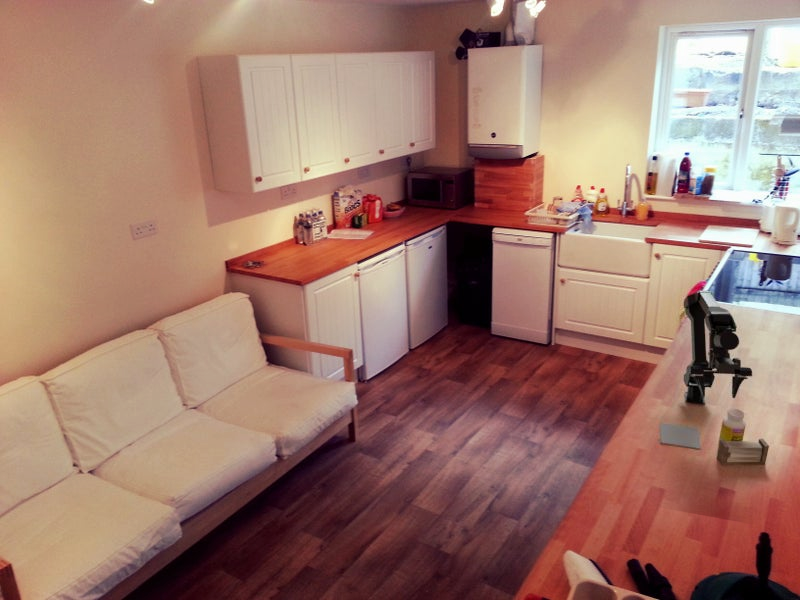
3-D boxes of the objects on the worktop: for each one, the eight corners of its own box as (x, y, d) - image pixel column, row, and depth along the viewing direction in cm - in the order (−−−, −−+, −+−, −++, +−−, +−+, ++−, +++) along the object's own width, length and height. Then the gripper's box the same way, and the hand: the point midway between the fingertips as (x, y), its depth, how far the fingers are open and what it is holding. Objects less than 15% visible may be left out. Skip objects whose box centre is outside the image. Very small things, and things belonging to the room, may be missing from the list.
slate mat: (660, 423, 226) (660, 422, 225) (698, 429, 222) (698, 428, 222) (660, 443, 215) (660, 442, 215) (700, 449, 211) (700, 448, 211)
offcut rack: (716, 458, 207) (719, 439, 204) (759, 457, 206) (763, 438, 204) (721, 465, 203) (725, 446, 201) (765, 464, 203) (769, 446, 200)
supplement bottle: (728, 454, 208) (734, 420, 204) (713, 442, 214) (719, 409, 209) (745, 450, 210) (752, 416, 205) (730, 438, 216) (737, 405, 211)
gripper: (695, 349, 207) (695, 398, 206) (758, 350, 204) (759, 401, 204) (686, 348, 218) (685, 395, 217) (745, 350, 215) (745, 397, 215)
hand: (718, 397), depth 213 cm, fingers open, 9 cm apart
